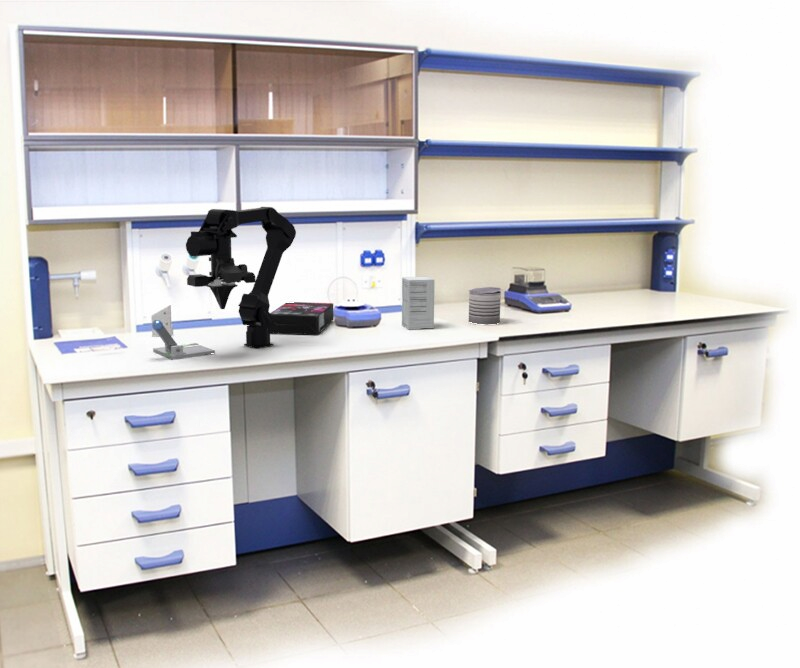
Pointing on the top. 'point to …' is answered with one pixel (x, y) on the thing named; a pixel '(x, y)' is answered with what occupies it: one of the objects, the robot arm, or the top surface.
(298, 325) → the graphics card box
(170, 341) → the lever
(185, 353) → the switch panel
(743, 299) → the top surface
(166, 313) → the grey plate
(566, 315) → the top surface
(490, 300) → the can
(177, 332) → the top surface
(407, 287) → the supplement box
